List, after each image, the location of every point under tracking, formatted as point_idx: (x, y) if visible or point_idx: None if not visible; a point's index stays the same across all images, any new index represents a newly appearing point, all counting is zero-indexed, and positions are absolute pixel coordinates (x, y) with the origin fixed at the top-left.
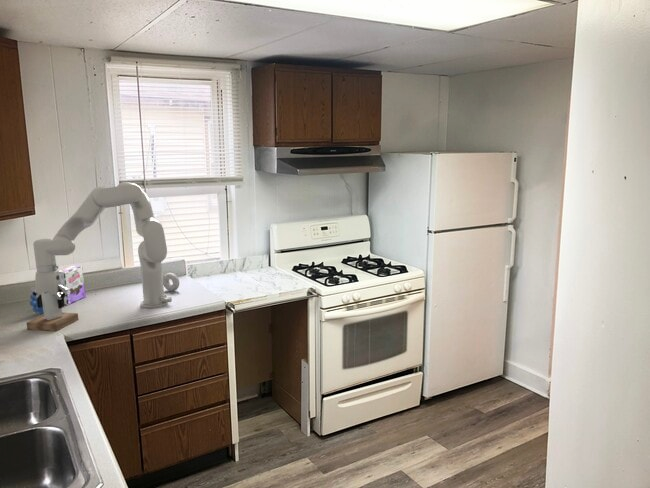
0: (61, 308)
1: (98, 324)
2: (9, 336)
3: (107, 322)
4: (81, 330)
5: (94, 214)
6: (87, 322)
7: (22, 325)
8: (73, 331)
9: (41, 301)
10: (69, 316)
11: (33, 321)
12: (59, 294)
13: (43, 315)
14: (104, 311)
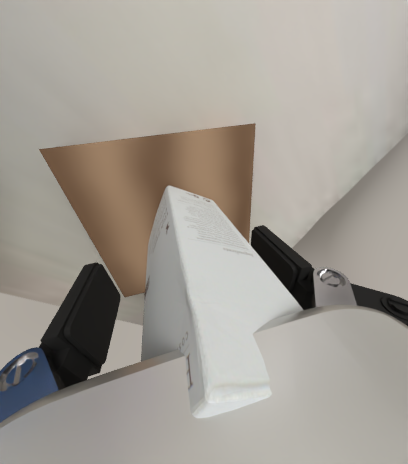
0: (229, 220)
1: (340, 157)
2: (137, 317)
3: (368, 124)
4: (303, 221)
5: None
6: (293, 148)
7: (56, 262)
8: (284, 234)
9: (100, 316)
10: (242, 185)
11: (138, 281)
12: (299, 306)
13: (90, 217)
14: None
